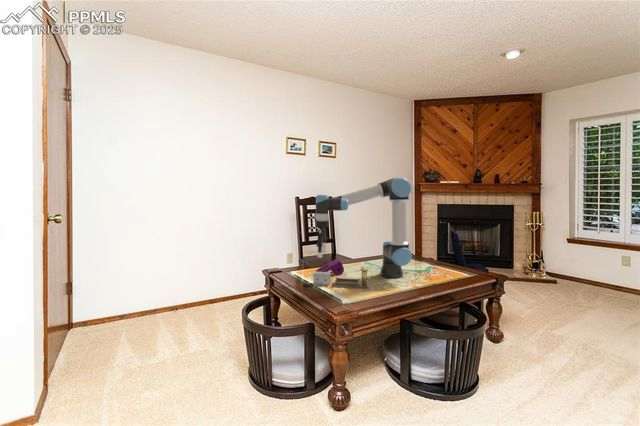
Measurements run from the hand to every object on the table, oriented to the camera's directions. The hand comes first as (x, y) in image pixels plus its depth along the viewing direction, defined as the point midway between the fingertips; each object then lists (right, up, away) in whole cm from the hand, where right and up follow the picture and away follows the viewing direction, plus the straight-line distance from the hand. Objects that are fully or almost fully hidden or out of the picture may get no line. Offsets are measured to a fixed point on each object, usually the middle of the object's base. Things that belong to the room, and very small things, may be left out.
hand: (321, 255), depth 200 cm
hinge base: (+18, -18, -1) cm, 25 cm away
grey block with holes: (0, -18, +1) cm, 18 cm away
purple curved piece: (+5, -16, +26) cm, 31 cm away
